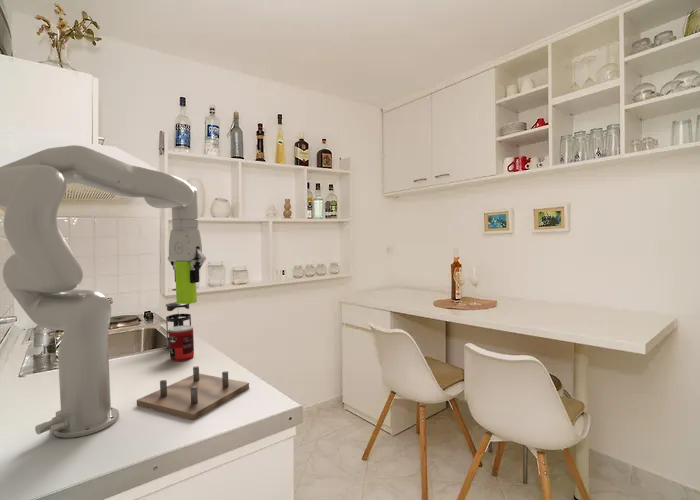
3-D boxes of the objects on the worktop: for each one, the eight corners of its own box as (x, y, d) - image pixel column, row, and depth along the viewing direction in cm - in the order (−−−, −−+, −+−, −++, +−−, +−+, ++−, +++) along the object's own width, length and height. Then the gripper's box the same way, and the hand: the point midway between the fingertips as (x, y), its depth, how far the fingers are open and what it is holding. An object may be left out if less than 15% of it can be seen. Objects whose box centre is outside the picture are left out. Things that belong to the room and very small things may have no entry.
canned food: (171, 356, 137) (170, 326, 136) (195, 353, 139) (194, 324, 138) (168, 362, 129) (166, 331, 129) (193, 360, 132) (191, 329, 131)
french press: (195, 346, 148) (193, 288, 147) (169, 351, 142) (166, 291, 141) (188, 339, 157) (186, 285, 156) (163, 344, 152) (161, 288, 151)
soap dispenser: (201, 300, 122) (199, 239, 122) (190, 303, 115) (188, 239, 115) (184, 300, 123) (182, 239, 122) (172, 304, 116) (170, 239, 115)
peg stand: (193, 420, 89) (192, 397, 88) (136, 405, 97) (135, 384, 97) (249, 387, 107) (248, 369, 106) (197, 377, 115) (196, 360, 115)
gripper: (155, 226, 118) (157, 282, 119) (196, 224, 111) (198, 284, 112) (175, 226, 125) (177, 279, 126) (214, 225, 118) (216, 281, 119)
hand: (187, 281), depth 119 cm, fingers closed on soap dispenser, 5 cm apart
